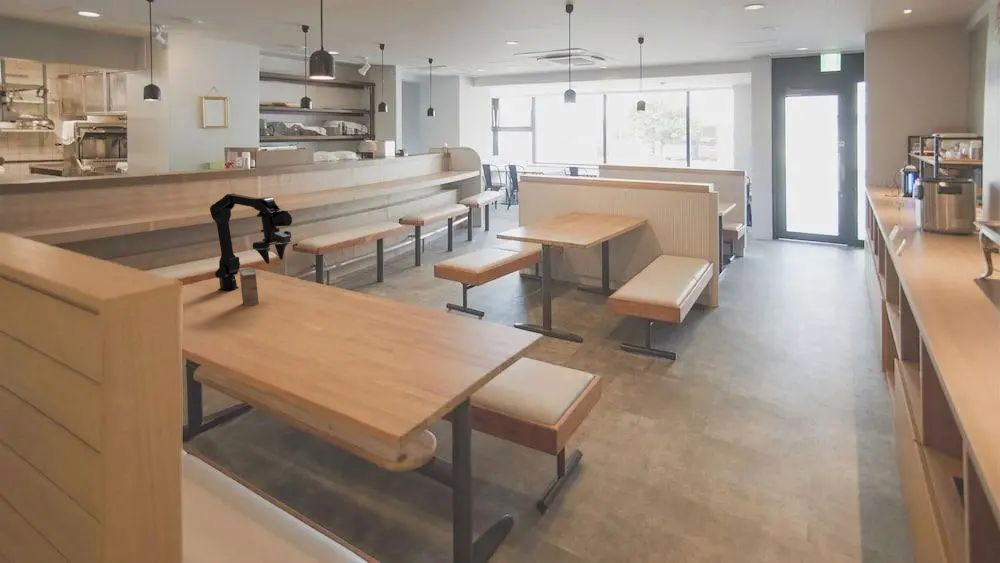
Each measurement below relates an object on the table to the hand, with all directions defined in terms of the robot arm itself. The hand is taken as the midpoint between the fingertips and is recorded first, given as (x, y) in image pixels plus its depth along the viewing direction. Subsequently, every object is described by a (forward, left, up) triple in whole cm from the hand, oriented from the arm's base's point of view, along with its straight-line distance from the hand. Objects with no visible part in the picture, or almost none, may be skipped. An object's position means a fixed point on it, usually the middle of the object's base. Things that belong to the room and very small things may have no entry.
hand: (274, 261), depth 277 cm
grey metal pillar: (-1, -18, -15) cm, 23 cm away
